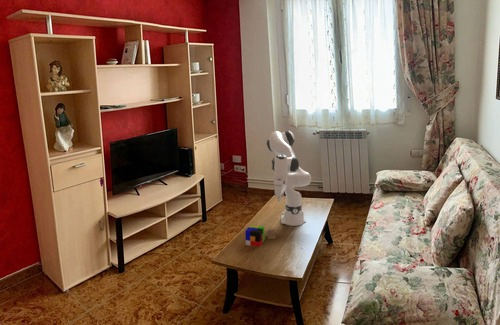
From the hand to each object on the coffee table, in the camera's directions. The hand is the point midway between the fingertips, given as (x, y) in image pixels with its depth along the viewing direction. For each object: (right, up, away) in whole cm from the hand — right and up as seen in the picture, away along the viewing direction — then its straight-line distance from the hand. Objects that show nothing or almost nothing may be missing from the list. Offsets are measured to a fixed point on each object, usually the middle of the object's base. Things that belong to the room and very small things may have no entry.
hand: (280, 199), depth 279 cm
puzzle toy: (-17, -29, -1) cm, 34 cm away
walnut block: (-6, -27, +7) cm, 29 cm away
